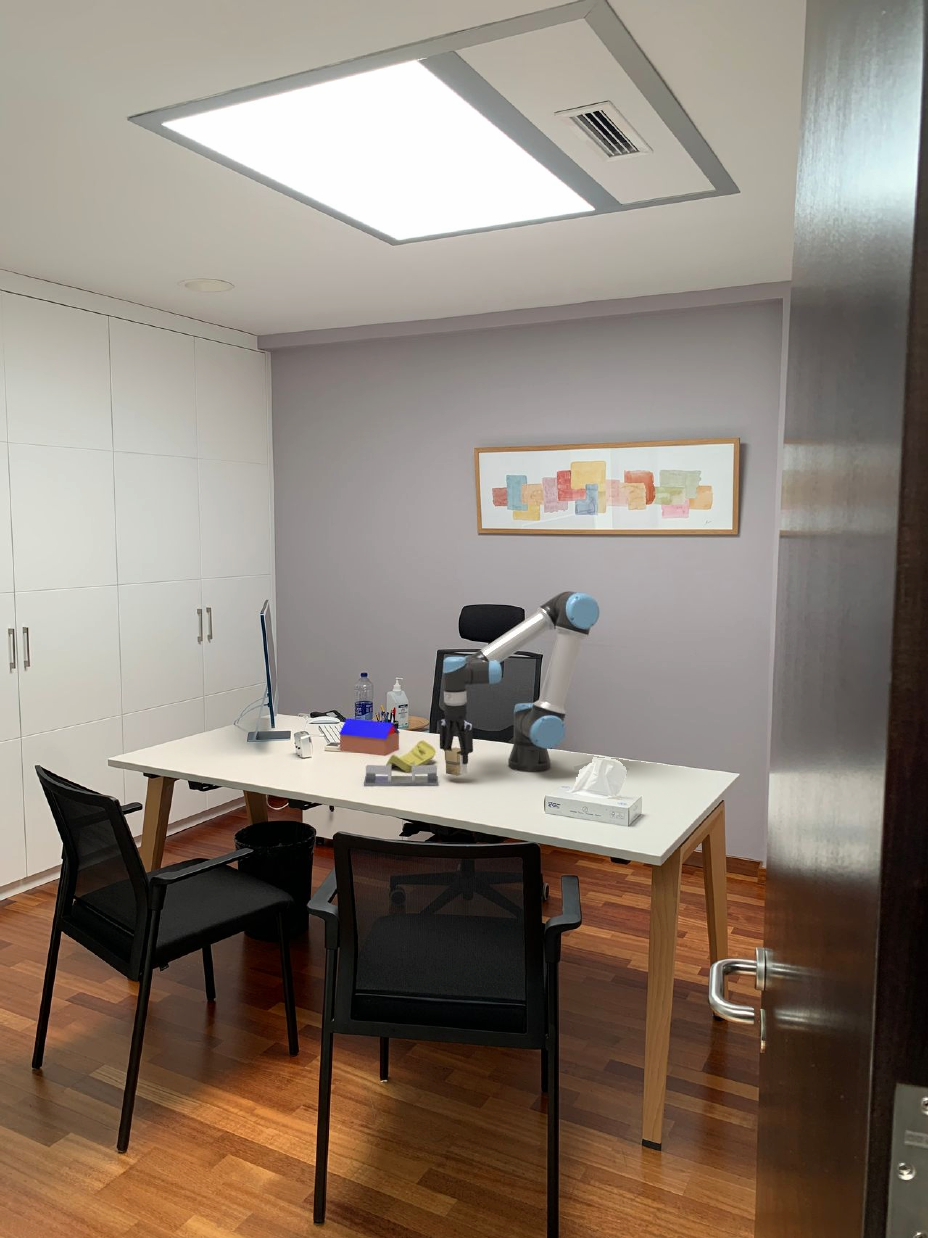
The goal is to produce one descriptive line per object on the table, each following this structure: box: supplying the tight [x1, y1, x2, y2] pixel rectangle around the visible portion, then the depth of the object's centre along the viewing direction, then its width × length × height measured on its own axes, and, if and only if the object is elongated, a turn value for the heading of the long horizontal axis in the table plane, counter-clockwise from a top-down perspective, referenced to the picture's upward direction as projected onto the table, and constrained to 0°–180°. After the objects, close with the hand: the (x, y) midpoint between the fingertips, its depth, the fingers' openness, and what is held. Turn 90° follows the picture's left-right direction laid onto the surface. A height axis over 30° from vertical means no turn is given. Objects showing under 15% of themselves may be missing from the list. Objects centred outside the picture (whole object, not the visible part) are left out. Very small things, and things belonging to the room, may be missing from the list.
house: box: [338, 718, 401, 757], centre depth 349 cm, size 12×20×12 cm, turn 67°
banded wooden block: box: [444, 746, 466, 777], centre depth 305 cm, size 5×5×8 cm
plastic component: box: [385, 740, 437, 773], centre depth 326 cm, size 20×7×10 cm
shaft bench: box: [363, 764, 439, 787], centre depth 303 cm, size 24×9×6 cm, turn 93°
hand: (456, 771), depth 306 cm, fingers closed on banded wooden block, 5 cm apart
